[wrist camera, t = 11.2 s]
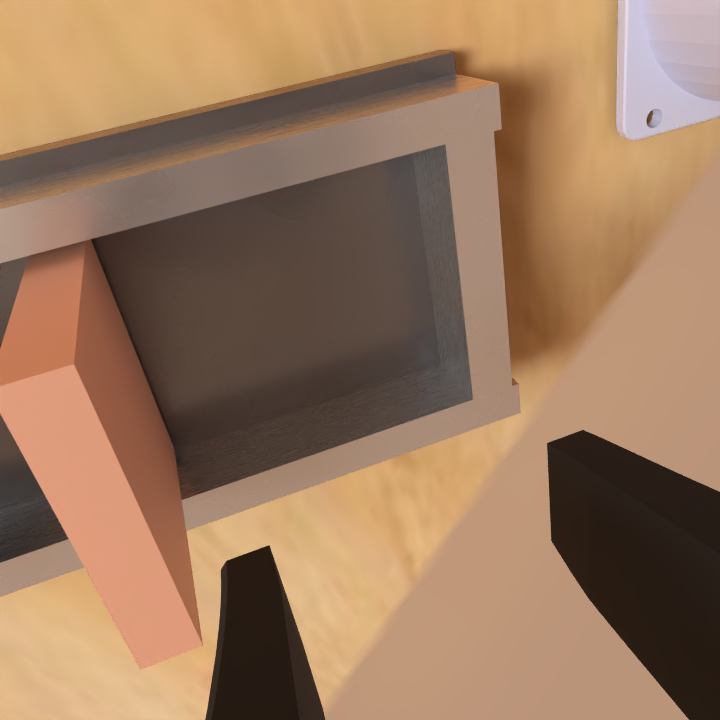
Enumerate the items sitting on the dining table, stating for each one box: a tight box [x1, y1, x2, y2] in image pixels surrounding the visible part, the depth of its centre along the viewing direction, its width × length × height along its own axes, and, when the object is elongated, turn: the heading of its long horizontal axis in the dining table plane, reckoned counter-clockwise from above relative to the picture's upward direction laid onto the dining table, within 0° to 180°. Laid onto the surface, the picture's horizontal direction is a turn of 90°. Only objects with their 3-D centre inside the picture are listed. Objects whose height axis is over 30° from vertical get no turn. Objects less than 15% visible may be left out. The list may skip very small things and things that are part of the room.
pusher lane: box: [0, 50, 521, 597], centre depth 16 cm, size 22×10×5 cm, turn 100°
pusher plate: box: [0, 239, 203, 670], centre depth 14 cm, size 1×6×7 cm, turn 10°
